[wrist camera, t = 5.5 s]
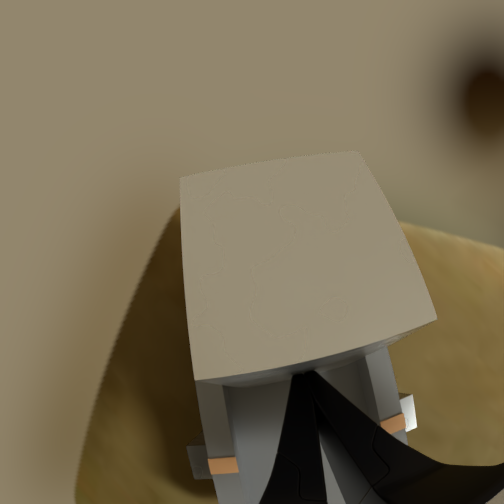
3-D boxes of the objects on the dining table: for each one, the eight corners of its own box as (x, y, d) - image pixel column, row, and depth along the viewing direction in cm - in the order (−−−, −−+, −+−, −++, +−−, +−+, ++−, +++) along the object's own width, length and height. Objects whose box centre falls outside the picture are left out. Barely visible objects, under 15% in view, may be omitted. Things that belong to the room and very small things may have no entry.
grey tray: (397, 505, 9) (415, 519, 6) (241, 543, 8) (236, 564, 6) (341, 258, 17) (351, 236, 14) (194, 286, 16) (182, 267, 14)
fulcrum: (389, 424, 13) (417, 434, 10) (210, 464, 13) (196, 486, 10) (383, 383, 15) (411, 385, 11) (201, 423, 14) (183, 437, 11)
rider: (341, 366, 13) (437, 319, 5) (243, 388, 12) (194, 380, 5) (318, 278, 15) (357, 150, 7) (228, 296, 15) (179, 177, 7)
